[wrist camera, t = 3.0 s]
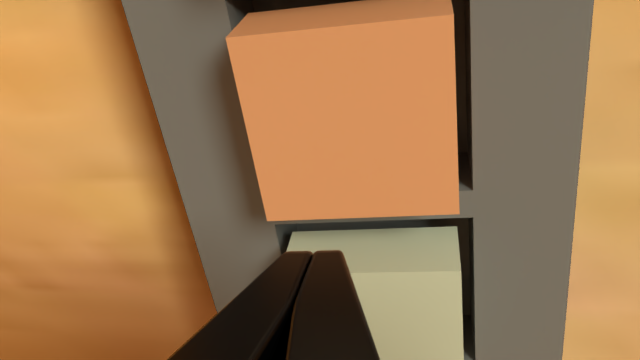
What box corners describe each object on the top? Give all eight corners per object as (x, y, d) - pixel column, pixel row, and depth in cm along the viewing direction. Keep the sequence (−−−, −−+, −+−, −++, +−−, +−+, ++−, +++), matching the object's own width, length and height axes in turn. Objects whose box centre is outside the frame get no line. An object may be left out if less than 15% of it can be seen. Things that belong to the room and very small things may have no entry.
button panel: (543, 306, 19) (560, 373, 17) (255, 308, 21) (234, 368, 19) (591, -447, 10) (641, -529, 8) (88, -326, 12) (10, -361, 10)
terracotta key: (455, 173, 14) (459, 214, 13) (282, 181, 15) (267, 221, 14) (449, -9, 12) (453, 14, 11) (247, 13, 13) (225, 38, 12)
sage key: (460, 347, 17) (464, 398, 16) (315, 346, 18) (306, 394, 17) (457, 226, 15) (461, 271, 14) (292, 231, 16) (279, 274, 14)
